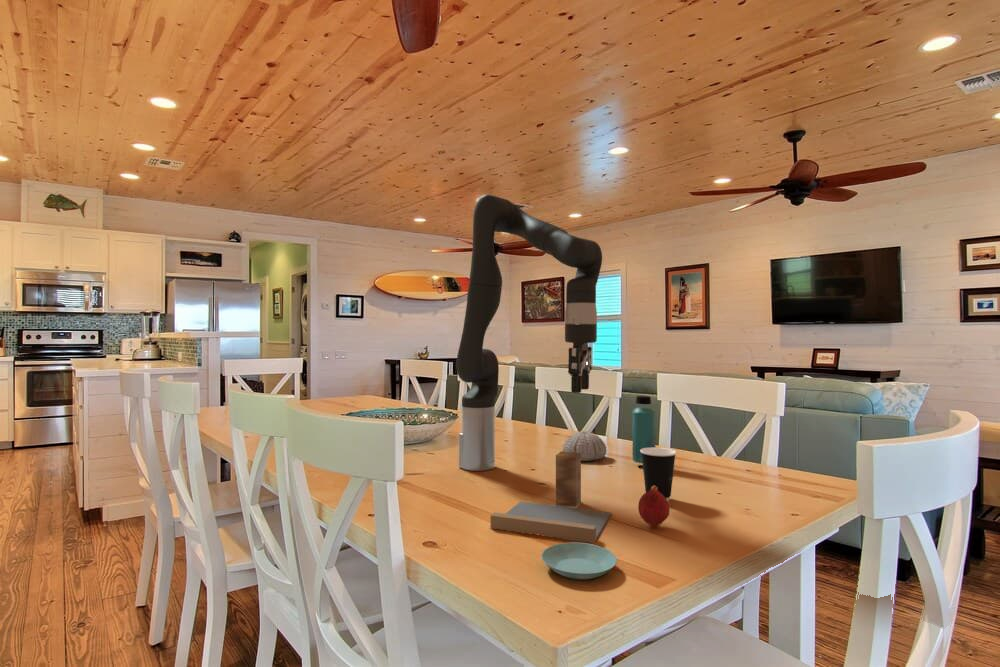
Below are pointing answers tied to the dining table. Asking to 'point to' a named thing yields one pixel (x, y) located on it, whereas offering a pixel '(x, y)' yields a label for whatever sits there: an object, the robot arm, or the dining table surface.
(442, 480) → the dining table surface
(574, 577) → the saucer
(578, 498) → the cardboard box
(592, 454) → the sea urchin shell
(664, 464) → the dixie cup
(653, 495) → the onion
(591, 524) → the grey flat slab
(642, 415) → the beverage bottle
